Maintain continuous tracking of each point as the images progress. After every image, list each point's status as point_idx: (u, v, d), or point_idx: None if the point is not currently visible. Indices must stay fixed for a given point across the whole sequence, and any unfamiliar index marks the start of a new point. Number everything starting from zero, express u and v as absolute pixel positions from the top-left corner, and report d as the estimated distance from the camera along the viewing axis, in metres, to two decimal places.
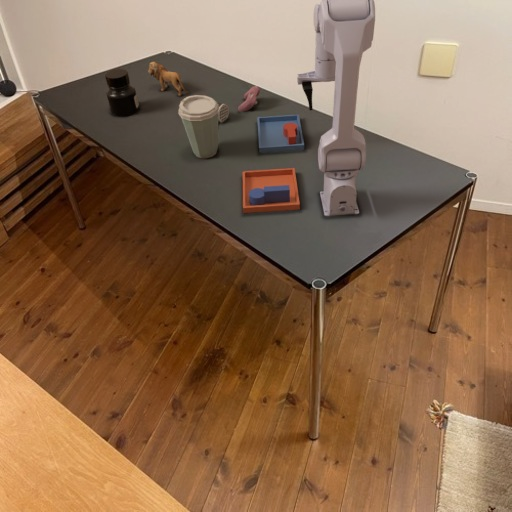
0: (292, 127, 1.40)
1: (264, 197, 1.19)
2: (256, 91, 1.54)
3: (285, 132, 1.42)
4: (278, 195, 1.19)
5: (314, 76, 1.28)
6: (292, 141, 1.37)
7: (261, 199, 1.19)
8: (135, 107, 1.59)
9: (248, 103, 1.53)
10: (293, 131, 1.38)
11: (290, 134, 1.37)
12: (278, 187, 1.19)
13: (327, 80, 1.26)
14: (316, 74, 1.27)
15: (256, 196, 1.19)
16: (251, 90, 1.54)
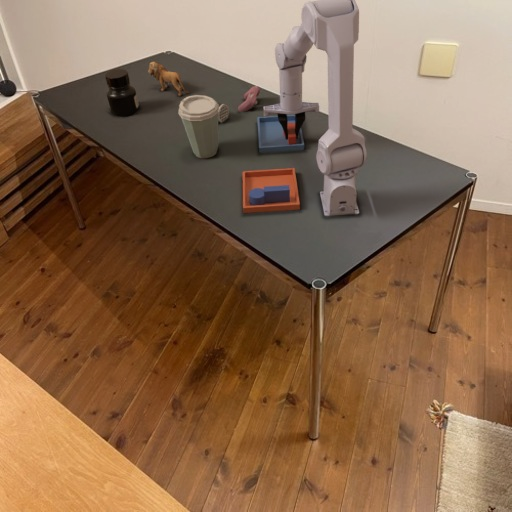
0: (292, 127, 1.40)
1: (264, 197, 1.19)
2: (256, 91, 1.54)
3: None
4: (278, 195, 1.19)
5: (279, 108, 1.33)
6: (292, 141, 1.37)
7: (261, 199, 1.19)
8: (135, 107, 1.59)
9: (248, 103, 1.53)
10: (293, 131, 1.38)
11: (290, 134, 1.37)
12: (278, 187, 1.19)
13: (291, 113, 1.31)
14: (281, 107, 1.32)
15: (256, 196, 1.19)
16: (251, 90, 1.54)
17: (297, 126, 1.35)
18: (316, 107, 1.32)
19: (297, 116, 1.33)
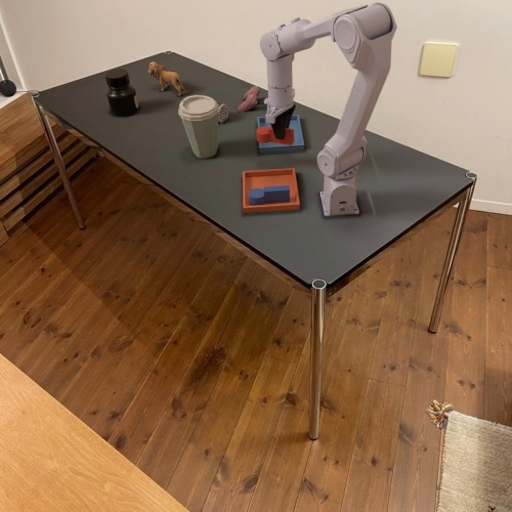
0: None
1: (264, 197, 1.19)
2: (256, 91, 1.54)
3: (267, 137, 1.26)
4: (278, 195, 1.19)
5: (278, 108, 1.18)
6: (292, 136, 1.25)
7: (261, 199, 1.19)
8: (135, 107, 1.59)
9: (248, 103, 1.53)
10: None
11: (286, 130, 1.24)
12: (278, 187, 1.19)
13: (292, 104, 1.19)
14: (280, 105, 1.18)
15: (256, 196, 1.19)
16: (251, 90, 1.54)
17: (290, 118, 1.24)
18: (293, 91, 1.24)
19: (290, 107, 1.22)
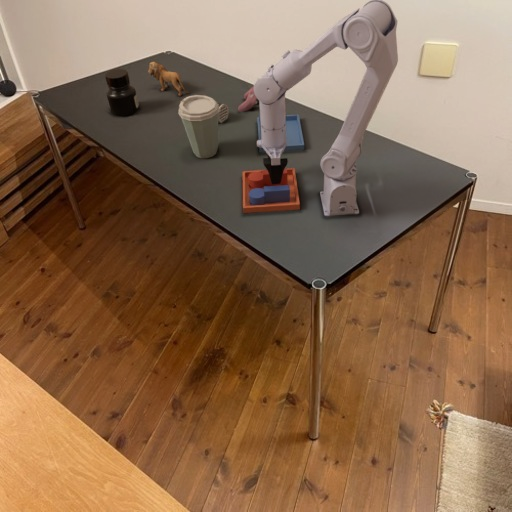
0: (266, 171, 1.25)
1: (264, 197, 1.19)
2: None
3: (262, 182, 1.25)
4: (278, 195, 1.19)
5: (277, 148, 1.16)
6: None
7: (261, 199, 1.19)
8: (135, 107, 1.59)
9: (248, 103, 1.53)
10: None
11: None
12: (278, 187, 1.19)
13: None
14: (278, 145, 1.16)
15: (256, 196, 1.19)
16: (251, 90, 1.54)
17: None
18: None
19: None
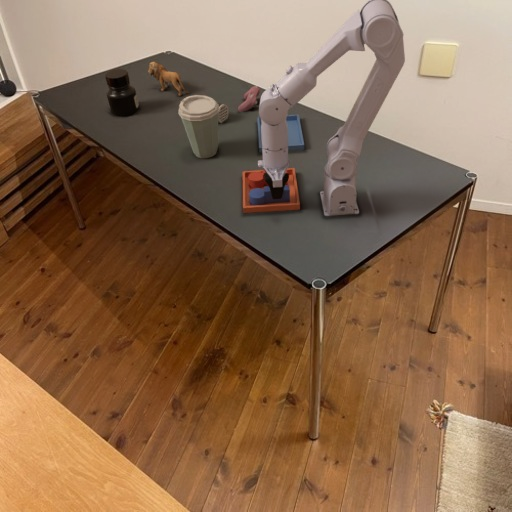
0: None
1: (264, 197, 1.19)
2: (256, 91, 1.54)
3: (262, 182, 1.25)
4: None
5: (278, 169, 1.12)
6: None
7: (261, 199, 1.19)
8: (135, 107, 1.59)
9: (248, 103, 1.53)
10: None
11: None
12: None
13: None
14: (280, 165, 1.12)
15: (256, 196, 1.19)
16: (251, 90, 1.54)
17: None
18: None
19: None
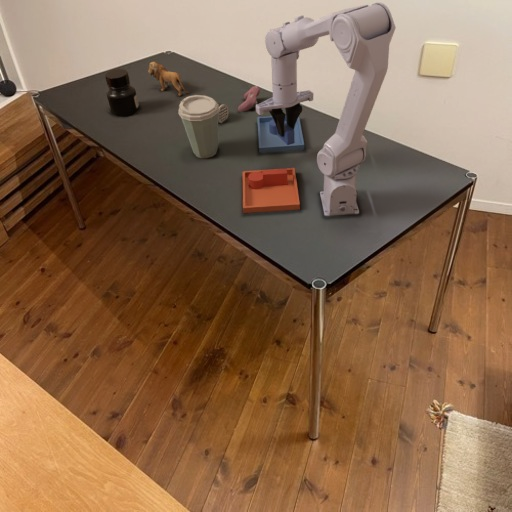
0: (266, 171, 1.25)
1: (275, 128, 1.28)
2: (256, 91, 1.54)
3: (262, 182, 1.25)
4: None
5: (274, 103, 1.20)
6: None
7: (271, 127, 1.29)
8: (135, 107, 1.59)
9: (248, 103, 1.53)
10: (275, 170, 1.25)
11: (280, 172, 1.24)
12: (287, 126, 1.25)
13: (290, 105, 1.19)
14: (277, 101, 1.19)
15: (271, 123, 1.29)
16: (251, 90, 1.54)
17: (294, 119, 1.23)
18: (310, 95, 1.22)
19: (294, 108, 1.21)
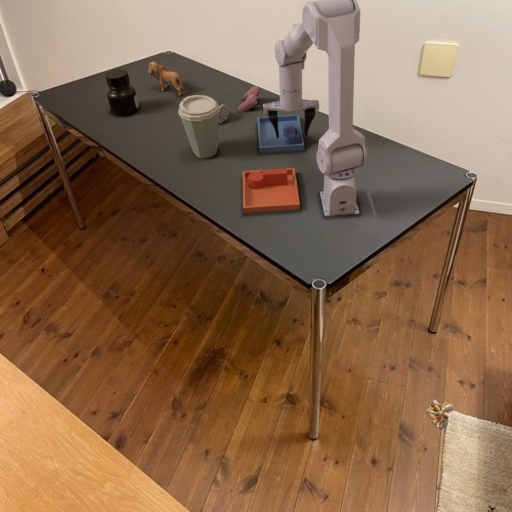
0: (266, 171, 1.25)
1: (286, 131, 1.41)
2: (256, 91, 1.54)
3: (262, 182, 1.25)
4: None
5: (279, 106, 1.32)
6: None
7: (283, 129, 1.42)
8: (135, 107, 1.59)
9: (248, 103, 1.53)
10: (275, 170, 1.25)
11: (280, 172, 1.24)
12: (292, 131, 1.38)
13: (291, 110, 1.31)
14: (281, 104, 1.32)
15: (284, 125, 1.42)
16: (251, 90, 1.54)
17: (307, 123, 1.35)
18: (316, 104, 1.32)
19: (307, 113, 1.33)
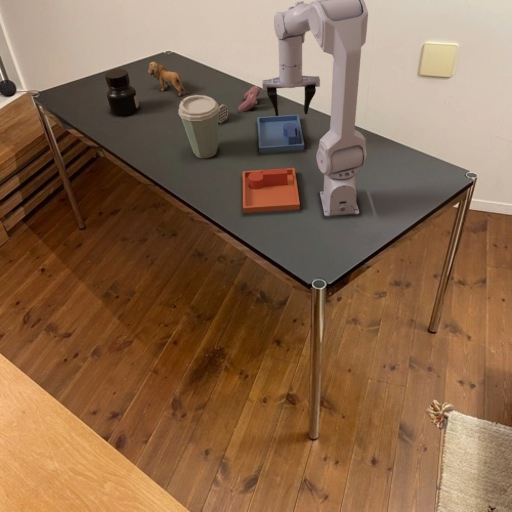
0: (266, 171, 1.25)
1: (286, 131, 1.41)
2: (256, 91, 1.54)
3: (262, 182, 1.25)
4: None
5: (278, 82, 1.28)
6: None
7: (283, 129, 1.42)
8: (135, 107, 1.59)
9: (248, 103, 1.53)
10: (275, 170, 1.25)
11: (280, 172, 1.24)
12: (292, 131, 1.38)
13: (291, 86, 1.26)
14: (280, 80, 1.27)
15: (284, 125, 1.42)
16: (251, 90, 1.54)
17: (307, 100, 1.30)
18: (317, 80, 1.27)
19: (307, 89, 1.28)
